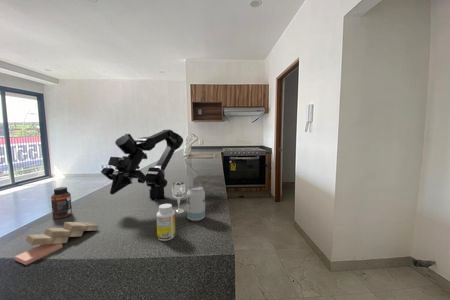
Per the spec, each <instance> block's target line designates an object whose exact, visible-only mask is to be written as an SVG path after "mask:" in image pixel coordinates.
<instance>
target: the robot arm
mask: <svg viewBox="0 0 450 300" xmlns="http://www.w3.org/2000/svg"><path fill="white" fill-rule="evenodd" d="M163 141H165V142H166V147H165V149H164V151H163V152H162V154H161V156H160V157H159V159H158V161H157V163H156V164H155V166H154V167H151V166H150V167H149V168H148V170H147V172H146V173H145V174H144V172H143V171H142V170H140V164H141V163H142V161H143V160H148V155H147V153H146V152H150V151H152V150H153V149H154V148H155V147H156V145H157V144H159V143H161V142H163ZM183 143H184V138H183V137H182V135H180V134H179V133H176V132H175V131H174V130H172V129H163V130H161V131H159V132H157V133H155V134H152V135H150V136H144V137H138V138H136V139H134V137H133V136H132V135H131V133H125V134H124V135H122V136H120V137H119V138H117V139H116V140H115V145H116V146H117V148H119V150H120V151H121V152H122V153H124V154H125V155H127V156H125V155H124V156H122V157H119V156H110V157H109V159H108V163H107V166H112V167H103V168H102V170H101V171H100V174H102V175H103V176H104V177H106V178H107V179H108V180H110V181H112V182H111V187H110V191H109V194H111V195H114V194H116V193H118V192H119V191H121V190H122V189H124V188H125V187H127V186H128V185H130V184H131V185H132V184H133V180H135V179H137V182H138V184H145V183H146V186H147V187H150V188H149V190H148V194H149V196H148V197H149V199H151V201H157V200H163V199H166V197H165V188H166V186H168V180H166V178H165V175H166V174H165V170H166V167H168V165H169V163H170V160H171V158H172V157H173V155H174V153H175V152H176V150H178V149H179V148H180V147H181V146H182V144H183ZM113 167H114V168H113Z"/></svg>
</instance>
